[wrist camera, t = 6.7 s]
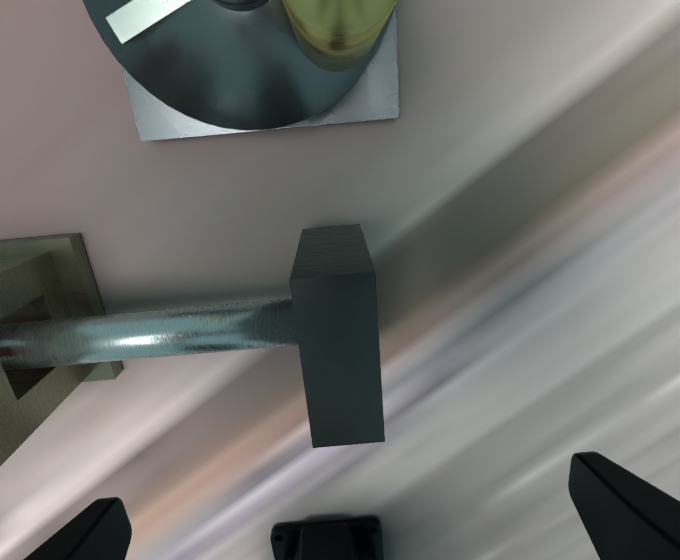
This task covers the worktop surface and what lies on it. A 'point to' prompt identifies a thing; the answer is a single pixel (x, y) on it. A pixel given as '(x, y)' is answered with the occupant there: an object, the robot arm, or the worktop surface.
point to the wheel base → (354, 106)
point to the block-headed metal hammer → (252, 335)
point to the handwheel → (244, 54)
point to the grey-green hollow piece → (37, 305)
